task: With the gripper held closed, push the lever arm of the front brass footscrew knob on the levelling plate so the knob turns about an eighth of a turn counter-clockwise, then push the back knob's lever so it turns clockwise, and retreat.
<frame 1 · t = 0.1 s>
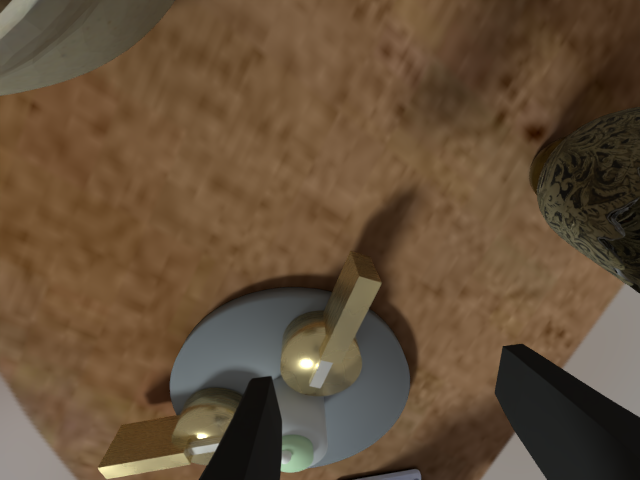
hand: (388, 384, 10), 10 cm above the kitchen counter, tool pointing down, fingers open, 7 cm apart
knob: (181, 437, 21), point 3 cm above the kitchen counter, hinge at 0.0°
levelling plate: (293, 383, 23), on the kitchen counter
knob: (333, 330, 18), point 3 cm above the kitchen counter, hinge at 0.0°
cup: (552, 166, 18), on the kitchen counter
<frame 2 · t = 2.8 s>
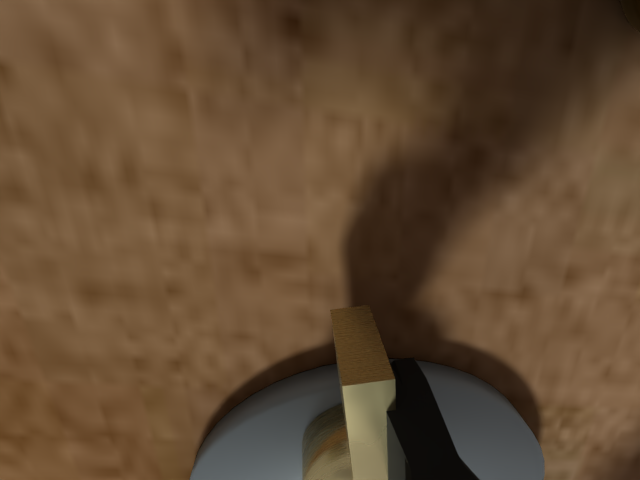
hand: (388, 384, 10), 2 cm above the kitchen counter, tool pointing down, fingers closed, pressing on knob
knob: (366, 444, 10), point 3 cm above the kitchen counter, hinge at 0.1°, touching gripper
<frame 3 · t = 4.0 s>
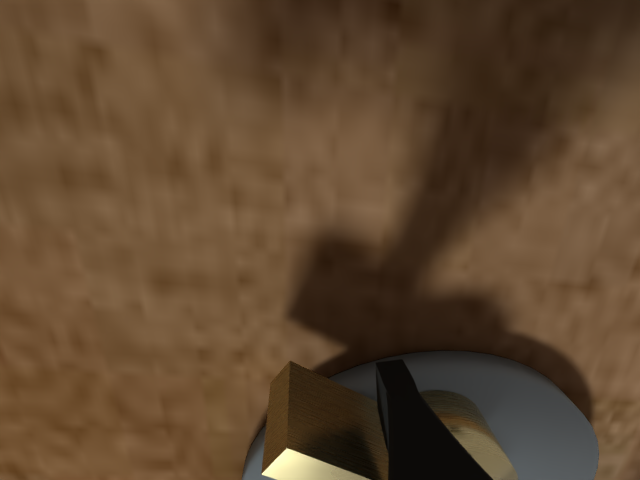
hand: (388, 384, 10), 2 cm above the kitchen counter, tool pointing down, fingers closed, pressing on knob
levelling plate: (410, 477, 16), on the kitchen counter
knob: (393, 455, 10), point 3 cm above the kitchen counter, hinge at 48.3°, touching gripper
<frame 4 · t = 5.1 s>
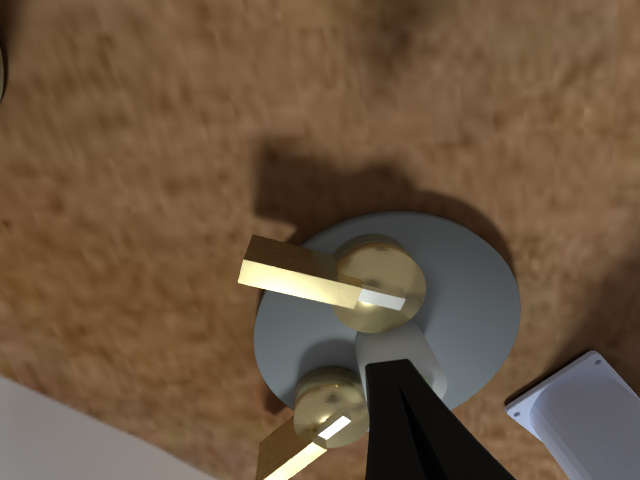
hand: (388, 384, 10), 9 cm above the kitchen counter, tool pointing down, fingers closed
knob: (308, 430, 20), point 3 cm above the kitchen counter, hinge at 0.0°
levelling plate: (383, 330, 21), on the kitchen counter
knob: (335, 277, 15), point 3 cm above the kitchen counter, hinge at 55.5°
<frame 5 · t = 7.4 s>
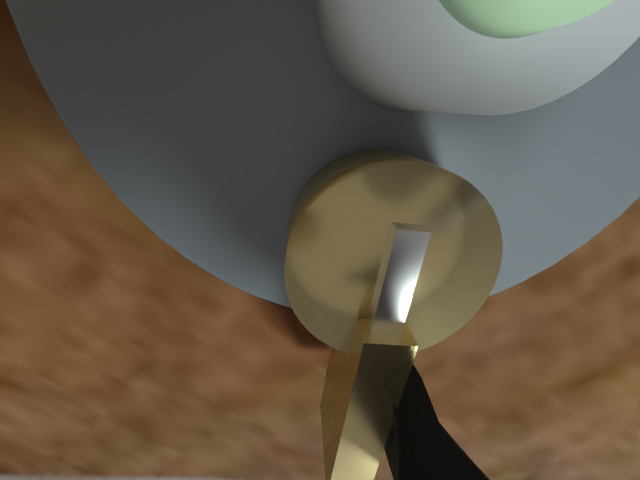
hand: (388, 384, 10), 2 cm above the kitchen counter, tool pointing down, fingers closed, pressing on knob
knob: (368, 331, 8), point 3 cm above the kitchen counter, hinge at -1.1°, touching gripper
levelling plate: (400, 16, 8), on the kitchen counter
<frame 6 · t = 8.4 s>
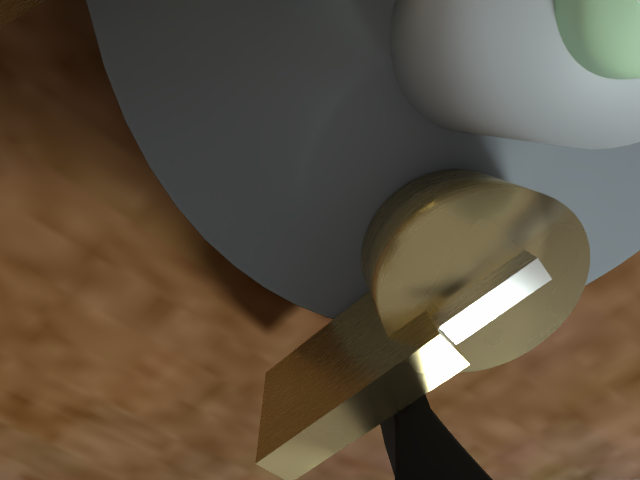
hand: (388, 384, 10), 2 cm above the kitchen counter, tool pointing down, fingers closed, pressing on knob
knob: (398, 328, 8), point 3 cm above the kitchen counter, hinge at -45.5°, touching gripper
levelling plate: (460, 39, 8), on the kitchen counter
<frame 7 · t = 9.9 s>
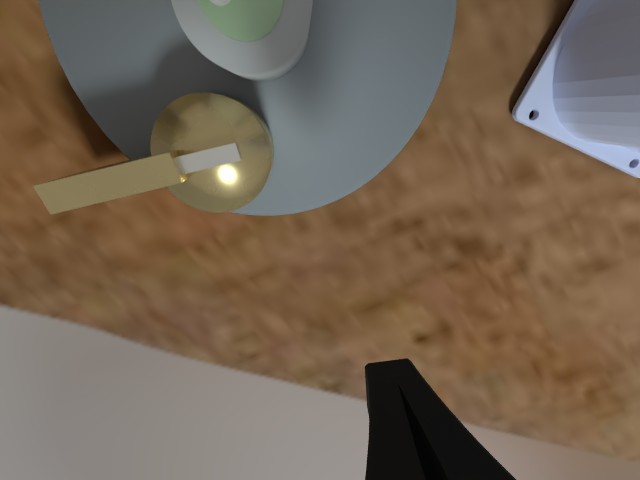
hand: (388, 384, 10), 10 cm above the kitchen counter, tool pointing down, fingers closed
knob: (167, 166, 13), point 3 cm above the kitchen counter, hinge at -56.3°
levelling plate: (260, 29, 14), on the kitchen counter
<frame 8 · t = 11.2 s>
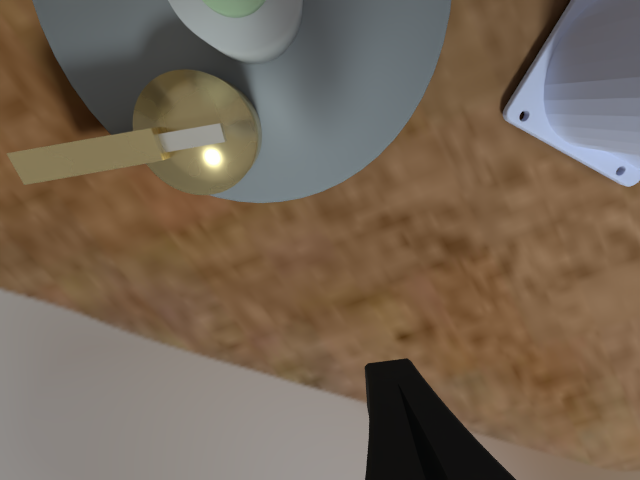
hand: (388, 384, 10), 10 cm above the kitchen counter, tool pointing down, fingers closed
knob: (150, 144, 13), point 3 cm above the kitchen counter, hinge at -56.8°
levelling plate: (253, 11, 14), on the kitchen counter
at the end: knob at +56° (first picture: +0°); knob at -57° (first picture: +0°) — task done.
